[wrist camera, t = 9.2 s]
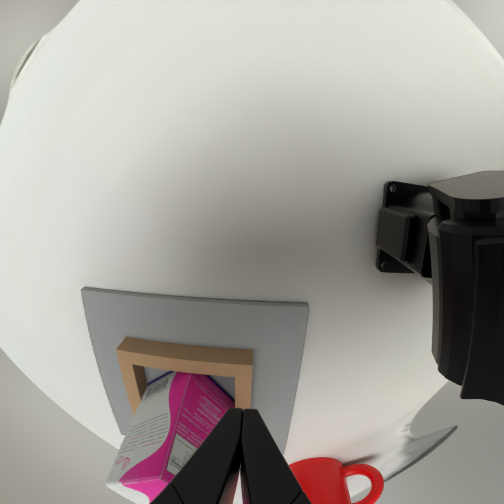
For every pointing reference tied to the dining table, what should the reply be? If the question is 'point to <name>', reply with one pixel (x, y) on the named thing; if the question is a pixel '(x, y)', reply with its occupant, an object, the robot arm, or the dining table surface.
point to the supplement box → (166, 433)
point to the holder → (198, 349)
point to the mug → (334, 480)
